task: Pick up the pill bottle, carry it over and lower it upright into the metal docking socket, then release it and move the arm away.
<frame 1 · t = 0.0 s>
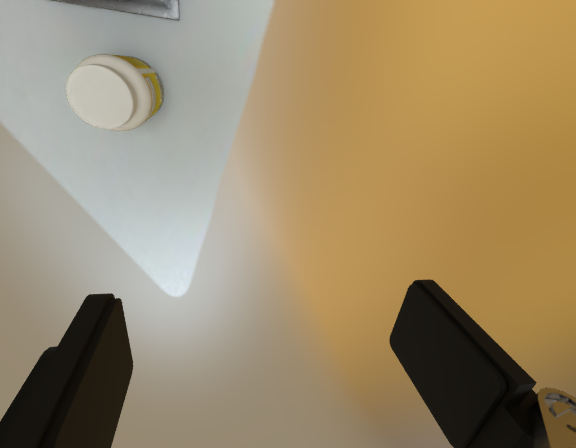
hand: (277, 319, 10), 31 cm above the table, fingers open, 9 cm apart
pill bottle: (135, 88, 32), on the table
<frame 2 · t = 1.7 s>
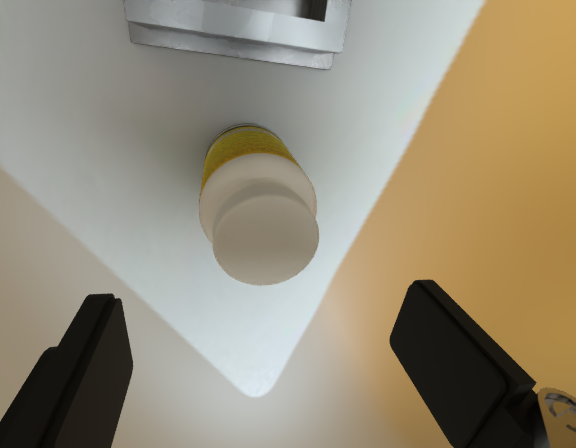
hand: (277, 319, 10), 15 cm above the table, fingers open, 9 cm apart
pill bottle: (247, 164, 22), on the table
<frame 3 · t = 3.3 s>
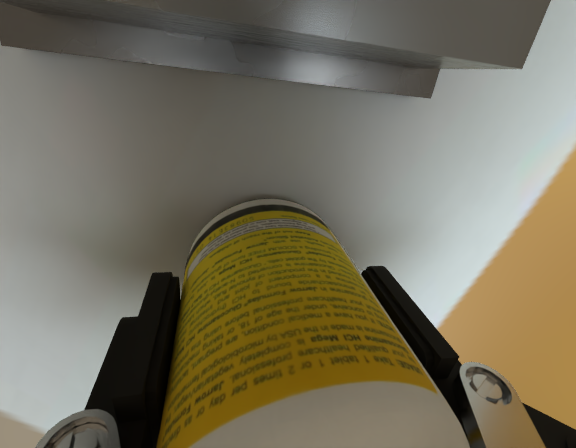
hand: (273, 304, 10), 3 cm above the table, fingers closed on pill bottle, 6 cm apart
pill bottle: (263, 258, 13), on the table, touching gripper
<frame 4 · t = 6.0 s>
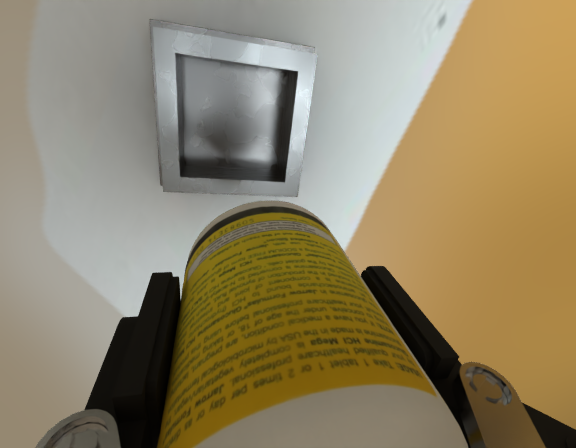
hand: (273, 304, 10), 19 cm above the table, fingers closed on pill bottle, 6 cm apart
socket: (233, 118, 25), on the table
pill bottle: (263, 259, 13), point 16 cm above the table, touching gripper
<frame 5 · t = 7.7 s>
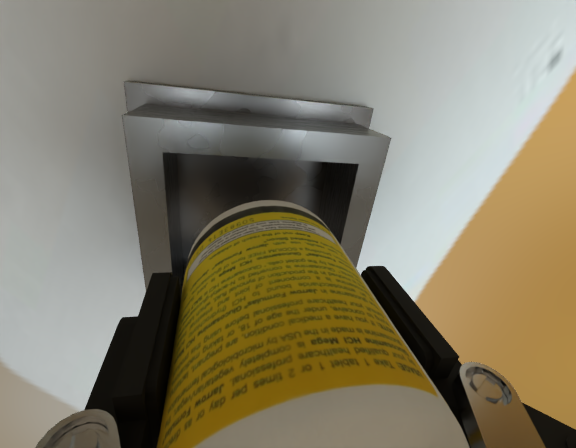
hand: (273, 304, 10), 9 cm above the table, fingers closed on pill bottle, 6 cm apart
socket: (252, 203, 17), on the table
pill bottle: (263, 259, 13), point 6 cm above the table, touching gripper
when the fingers open (5 cm above the table, at t = 8.9 s): pill bottle drops 1 cm, resting on socket.
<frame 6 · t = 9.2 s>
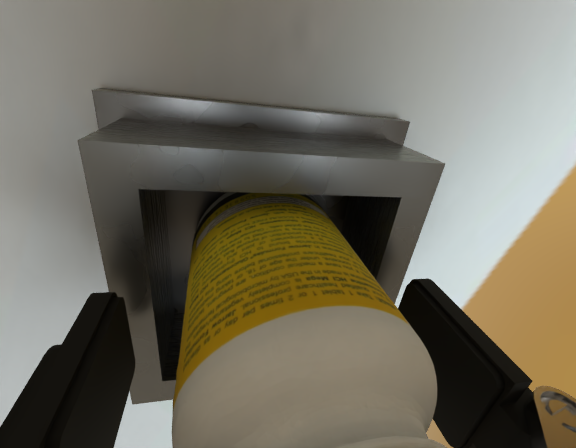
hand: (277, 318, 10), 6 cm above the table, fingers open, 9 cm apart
socket: (257, 235, 14), on the table
pill bottle: (262, 238, 14), point 1 cm above the table, touching socket
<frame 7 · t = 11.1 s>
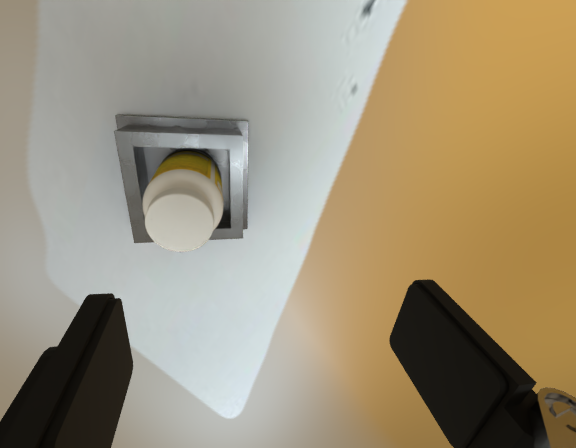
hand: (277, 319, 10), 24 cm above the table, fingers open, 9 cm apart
socket: (190, 177, 31), on the table
pill bottle: (191, 177, 30), point 1 cm above the table, touching socket
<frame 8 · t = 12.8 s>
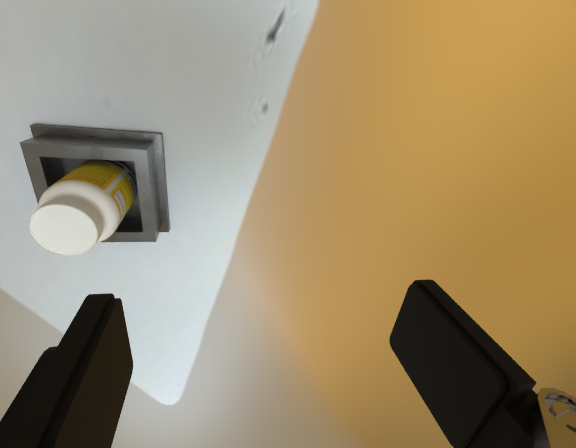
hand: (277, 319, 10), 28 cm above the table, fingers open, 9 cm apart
socket: (110, 182, 33), on the table
pill bottle: (109, 183, 33), point 1 cm above the table, touching socket
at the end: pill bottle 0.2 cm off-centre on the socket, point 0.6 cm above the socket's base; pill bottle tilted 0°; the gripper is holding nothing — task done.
